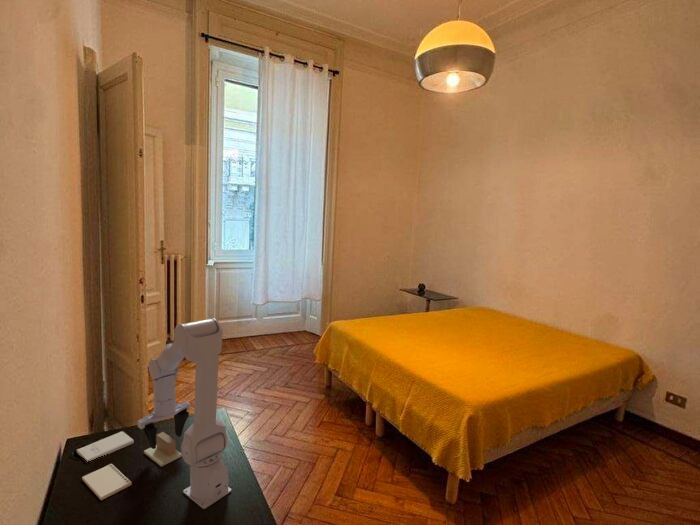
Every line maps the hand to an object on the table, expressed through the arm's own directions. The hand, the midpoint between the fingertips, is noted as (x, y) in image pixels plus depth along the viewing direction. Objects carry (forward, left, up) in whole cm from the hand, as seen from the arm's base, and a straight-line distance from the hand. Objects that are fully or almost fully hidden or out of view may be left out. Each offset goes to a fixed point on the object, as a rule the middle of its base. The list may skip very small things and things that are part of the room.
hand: (166, 441), depth 110 cm
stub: (0, +1, -4) cm, 4 cm away
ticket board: (0, +16, -4) cm, 16 cm away
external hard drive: (+17, +10, -5) cm, 20 cm away
